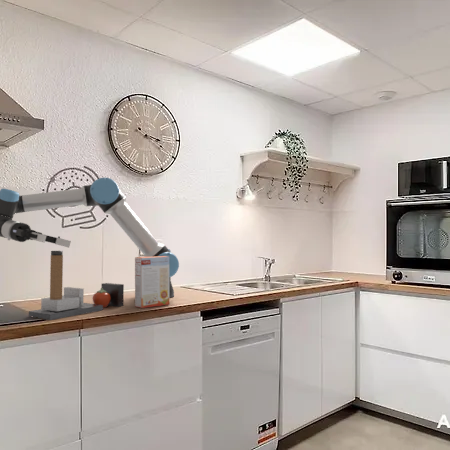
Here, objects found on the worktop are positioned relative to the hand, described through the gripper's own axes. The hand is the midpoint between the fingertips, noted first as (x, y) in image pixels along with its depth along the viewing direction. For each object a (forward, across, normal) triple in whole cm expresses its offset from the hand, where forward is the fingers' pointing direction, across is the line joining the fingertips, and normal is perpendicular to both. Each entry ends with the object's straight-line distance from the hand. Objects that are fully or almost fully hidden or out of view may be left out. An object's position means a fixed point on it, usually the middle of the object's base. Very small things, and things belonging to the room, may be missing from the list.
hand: (57, 241), depth 167 cm
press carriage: (+8, -3, -24) cm, 25 cm away
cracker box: (+29, -33, -17) cm, 47 cm away
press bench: (+10, -11, -24) cm, 29 cm away
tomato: (+12, -22, -22) cm, 34 cm away
